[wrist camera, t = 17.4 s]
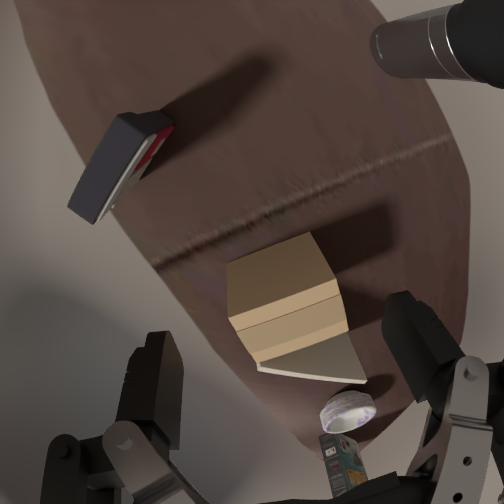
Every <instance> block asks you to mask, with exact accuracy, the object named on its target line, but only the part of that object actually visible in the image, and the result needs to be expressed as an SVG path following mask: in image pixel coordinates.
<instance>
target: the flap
mask: <svg viewBox="0 0 504 504" xmlns="http://www.w3.org/2000/svg"><path fill="white" fill-rule="evenodd" d="M257 369H258V371H262V372H268V373H274V374H281V375H287V376H294V377H301V378H309V379H317V380H326V381H336V382H346V383H359V384H365V383H366V382H367V378H366V376H365V373H364V371H363V369H362V366H361V364H360V362H359V359H358V357H357V355H356V353H355V350H354V348H353V346H352V343H351V341H350V339H349V337H348V334H347V332H344V333H342V334H339V335H337V336H334V337H331V338H329V339H326V340H323V341H321V342H318V343H315V344H313V345H310V346H307V347H304V348H301V349H299V350H296V351H293V352H290V353H287V354H284V355H281V356H278V357H275V358H272V359H269V360H265V361H262V362H259V363H257Z"/></svg>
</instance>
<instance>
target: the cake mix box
mask: <svg viewBox="0 0 504 504" xmlns="http://www.w3.org/2000/svg"><path fill="white" fill-rule="evenodd" d="M319 441H320V445H321V449H322V453H323V457H324V461H325V465H326V470H327V474H328V478H329V482H330V486H331V491H332V495H333V498H335V497H337V496H339V495H341V494H343V493H345V492H347V491H349V490H351V489H352V488H354V487H356V486H358V485H360V484H361V483H363V482H365V481H368V478H367V475H366V471H365V468H364V465H363V461H362V458H361V455H360V451H359V448H358V445H357V442H356V441H355V440H353V439H351V438H349V437H347V436H345V435H343V434H341V433H335V434H333V433H326V434H324V435H322V436H319Z"/></svg>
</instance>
